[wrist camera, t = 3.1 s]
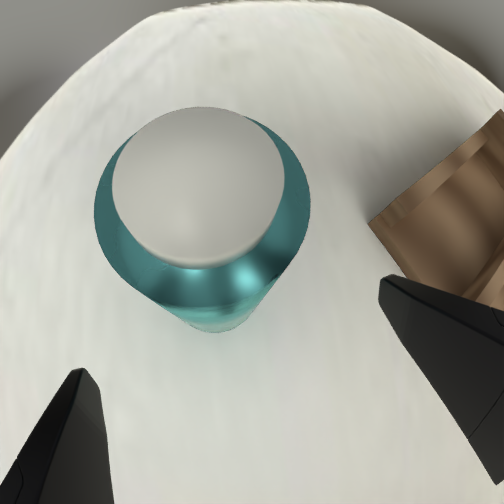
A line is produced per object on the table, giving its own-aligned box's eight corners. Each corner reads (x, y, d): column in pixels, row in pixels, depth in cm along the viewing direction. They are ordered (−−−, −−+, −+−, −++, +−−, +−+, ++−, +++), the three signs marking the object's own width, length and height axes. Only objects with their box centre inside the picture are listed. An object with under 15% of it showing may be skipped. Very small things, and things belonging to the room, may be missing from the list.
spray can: (203, 349, 18) (154, 356, 5) (155, 277, 19) (51, 155, 6) (274, 299, 19) (369, 205, 7) (225, 232, 20) (231, 60, 7)
